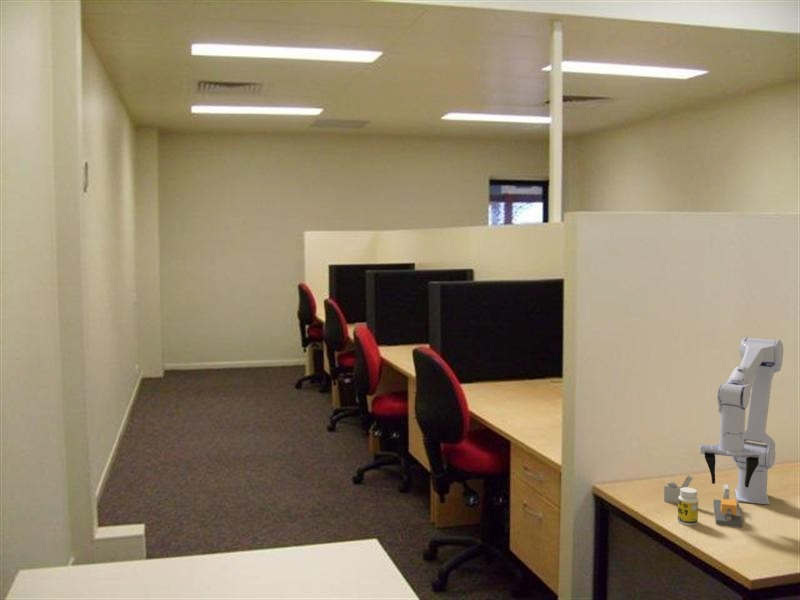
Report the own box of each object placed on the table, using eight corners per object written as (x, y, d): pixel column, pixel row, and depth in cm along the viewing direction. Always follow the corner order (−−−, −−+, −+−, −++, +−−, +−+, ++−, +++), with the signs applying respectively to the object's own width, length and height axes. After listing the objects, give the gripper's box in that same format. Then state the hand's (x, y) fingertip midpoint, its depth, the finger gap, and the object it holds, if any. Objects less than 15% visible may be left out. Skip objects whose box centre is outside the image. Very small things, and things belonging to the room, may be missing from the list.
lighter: (663, 501, 203) (664, 472, 202) (665, 499, 204) (666, 470, 203) (690, 506, 199) (691, 477, 198) (692, 504, 200) (693, 475, 199)
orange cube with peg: (720, 507, 191) (721, 498, 191) (735, 509, 190) (735, 500, 190) (721, 515, 186) (722, 505, 186) (737, 517, 185) (737, 507, 185)
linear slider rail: (713, 503, 201) (714, 482, 200) (737, 506, 198) (738, 485, 198) (716, 524, 187) (716, 501, 186) (742, 527, 184) (743, 504, 184)
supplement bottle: (673, 520, 190) (674, 488, 189) (687, 517, 191) (688, 485, 191) (687, 526, 185) (688, 494, 184) (701, 523, 187) (702, 491, 186)
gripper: (701, 432, 185) (699, 485, 187) (765, 438, 180) (763, 492, 182) (700, 426, 192) (698, 477, 193) (762, 431, 187) (760, 484, 188)
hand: (729, 484), depth 188 cm, fingers open, 7 cm apart
